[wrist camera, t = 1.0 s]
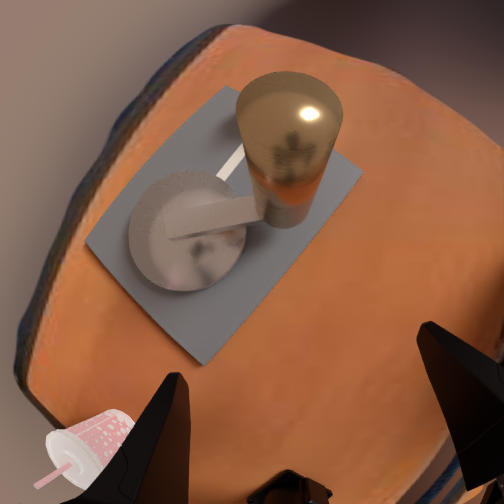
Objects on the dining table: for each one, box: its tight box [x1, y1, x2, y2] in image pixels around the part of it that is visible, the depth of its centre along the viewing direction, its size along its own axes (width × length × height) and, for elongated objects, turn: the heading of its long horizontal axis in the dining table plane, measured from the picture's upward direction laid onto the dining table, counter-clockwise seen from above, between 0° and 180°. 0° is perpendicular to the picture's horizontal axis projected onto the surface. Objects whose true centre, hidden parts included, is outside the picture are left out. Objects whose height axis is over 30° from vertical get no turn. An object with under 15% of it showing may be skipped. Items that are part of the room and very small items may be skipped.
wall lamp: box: [128, 71, 343, 291], centre depth 16 cm, size 15×10×14 cm, turn 100°
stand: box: [85, 86, 363, 366], centre depth 22 cm, size 22×17×6 cm
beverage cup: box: [33, 409, 135, 490], centre depth 15 cm, size 6×6×14 cm
